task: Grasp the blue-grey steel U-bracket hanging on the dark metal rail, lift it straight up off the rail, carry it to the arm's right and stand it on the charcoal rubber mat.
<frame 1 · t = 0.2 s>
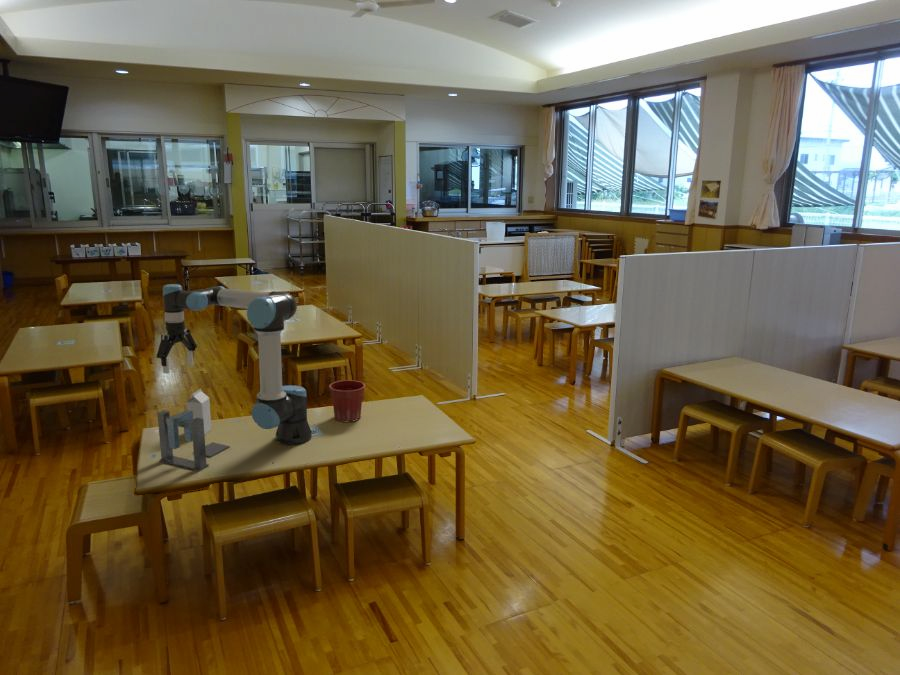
hand: (178, 369, 278), 28 cm above the table, fingers open, 13 cm apart
rail: (184, 463, 251), on the table
mat: (211, 450, 264), on the table
bracket: (182, 443, 249), point 8 cm above the table, touching rail
milk carton: (200, 432, 282), on the table
flower pot: (347, 418, 303), on the table
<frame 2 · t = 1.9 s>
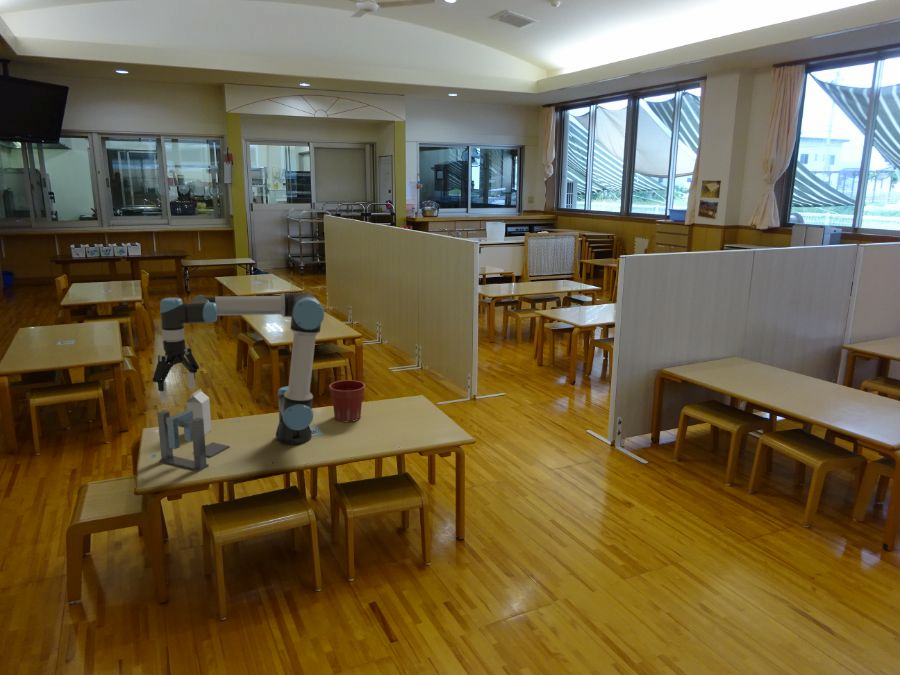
hand: (178, 393, 245), 29 cm above the table, fingers open, 13 cm apart
nothing on the table moved.
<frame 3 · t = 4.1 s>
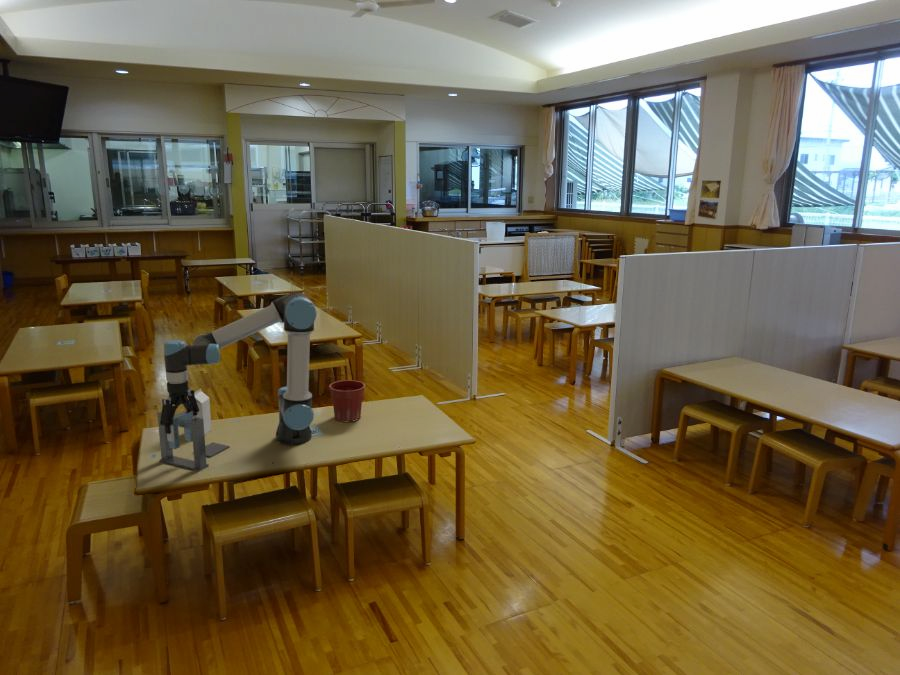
hand: (181, 435, 248), 12 cm above the table, fingers closed on bracket, 10 cm apart
bracket: (182, 443, 249), point 8 cm above the table, touching gripper, rail
everything else where it was.
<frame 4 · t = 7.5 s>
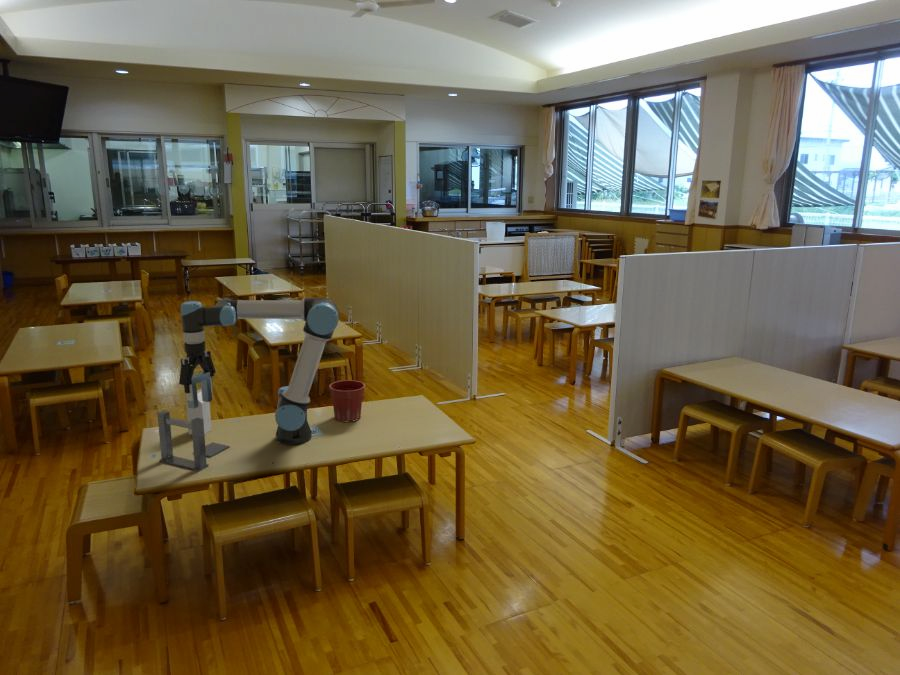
hand: (199, 396, 253), 25 cm above the table, fingers closed on bracket, 10 cm apart
bracket: (200, 403, 254), point 22 cm above the table, touching gripper
everything else where it was.
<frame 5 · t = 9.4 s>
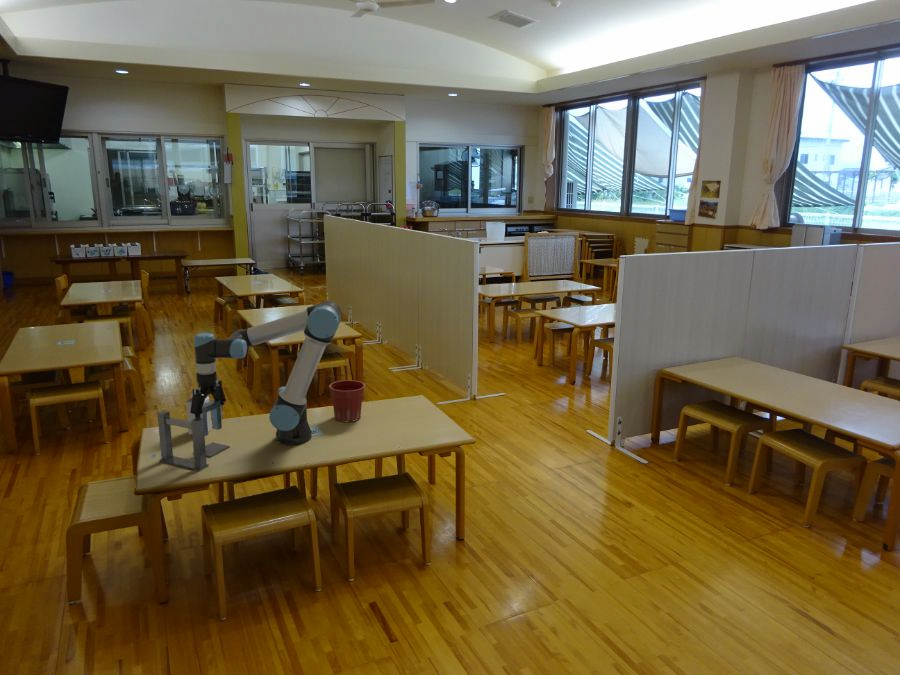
hand: (209, 424, 261), 11 cm above the table, fingers closed on bracket, 10 cm apart
bracket: (210, 431, 262), point 8 cm above the table, touching gripper
everything else where it was.
when the fingers open (5 cm above the table, at t = 10.9 s): bracket drops 1 cm, resting on mat.
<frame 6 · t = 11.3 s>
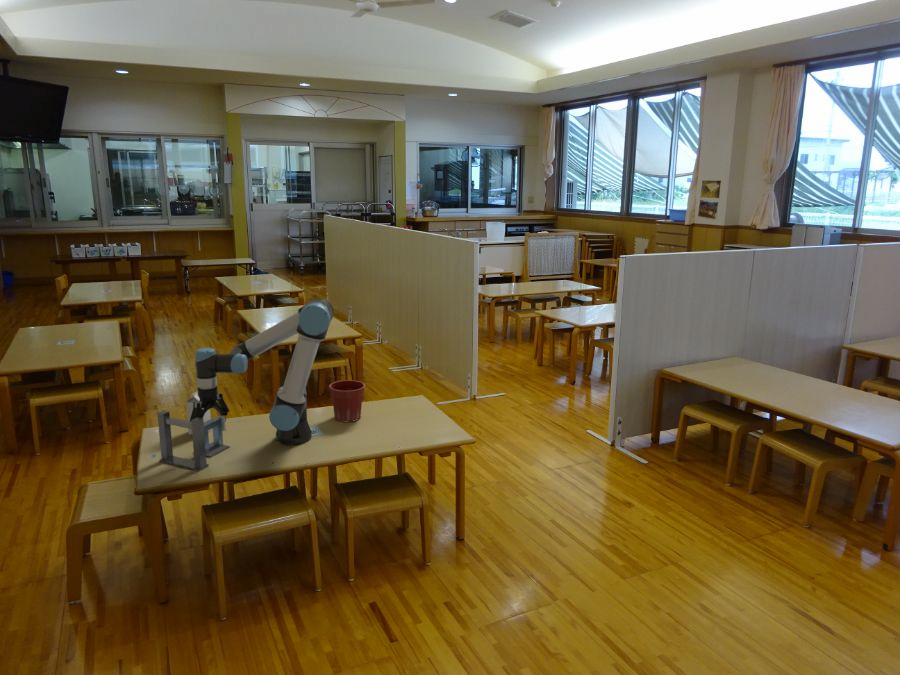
hand: (210, 436, 262), 6 cm above the table, fingers open, 13 cm apart
bracket: (211, 449, 264), point 1 cm above the table, touching mat
everything else where it was.
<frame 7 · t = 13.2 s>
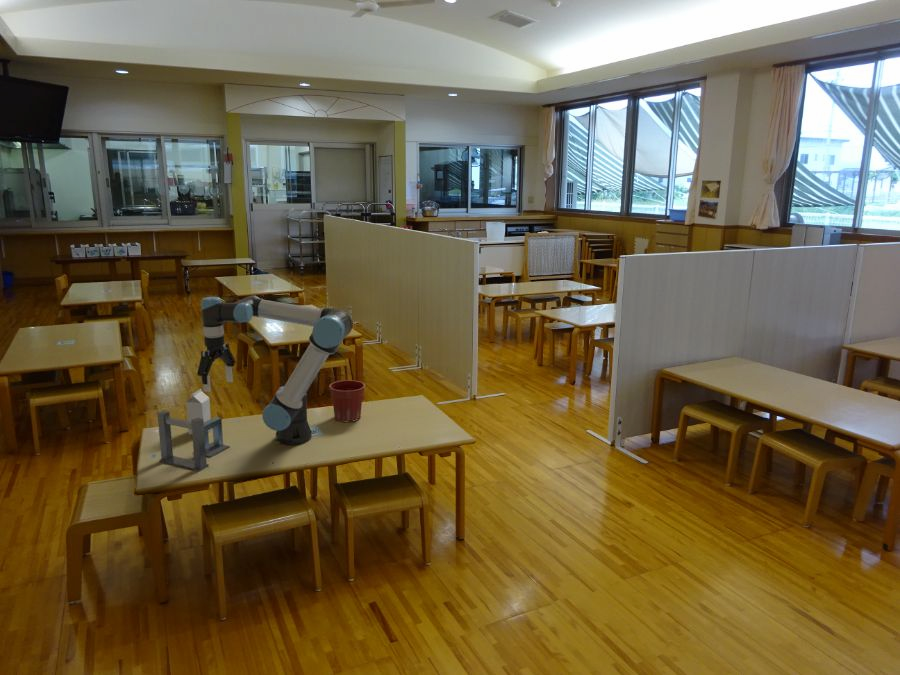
hand: (218, 386, 262), 26 cm above the table, fingers open, 13 cm apart
nothing on the table moved.
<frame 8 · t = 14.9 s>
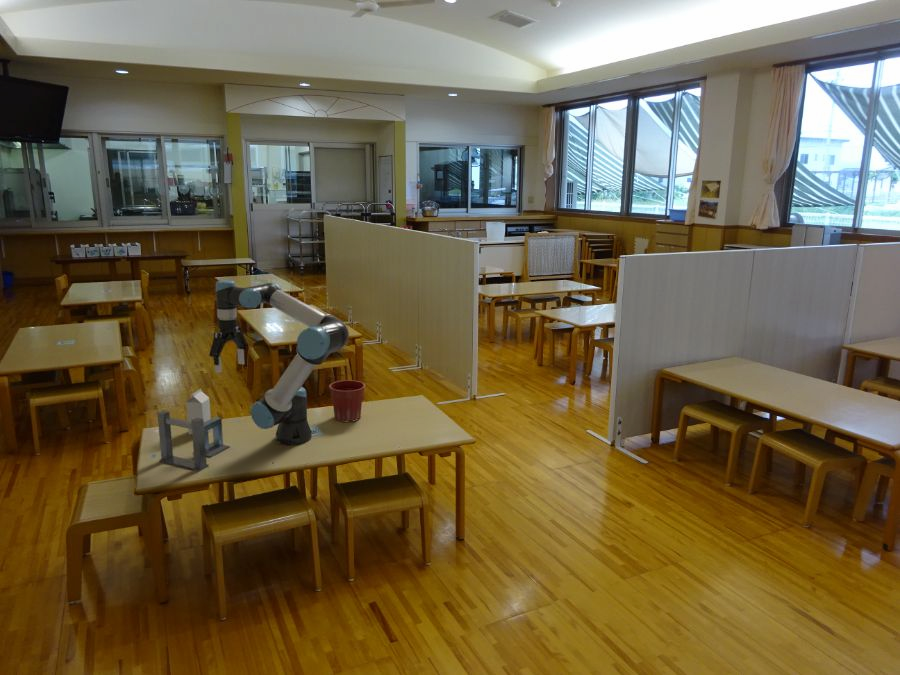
hand: (230, 368, 268), 32 cm above the table, fingers open, 13 cm apart
nothing on the table moved.
at the end: bracket inside the target area on the mat (0.0 cm from its centre), point 0.6 cm above the mat's base; bracket tilted 0°; the gripper is holding nothing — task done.
